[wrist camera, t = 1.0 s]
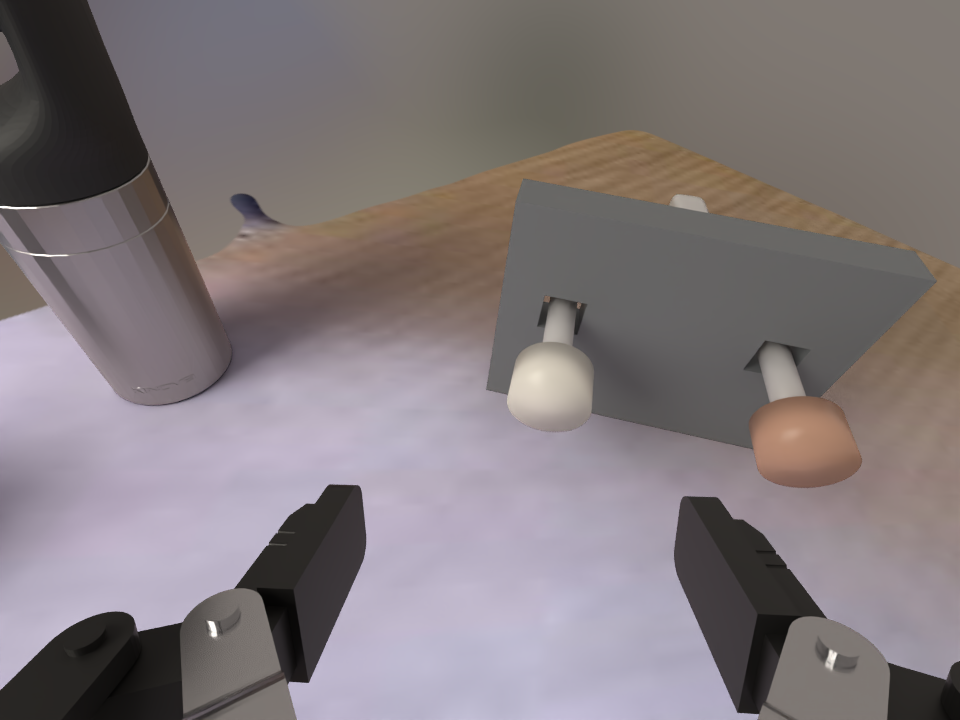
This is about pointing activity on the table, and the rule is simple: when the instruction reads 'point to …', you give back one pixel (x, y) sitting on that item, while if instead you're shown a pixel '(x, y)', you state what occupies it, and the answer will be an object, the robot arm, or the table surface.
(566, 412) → the cream knob
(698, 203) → the power adapter
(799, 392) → the terracotta knob
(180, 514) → the table surface
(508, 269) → the knob mount
